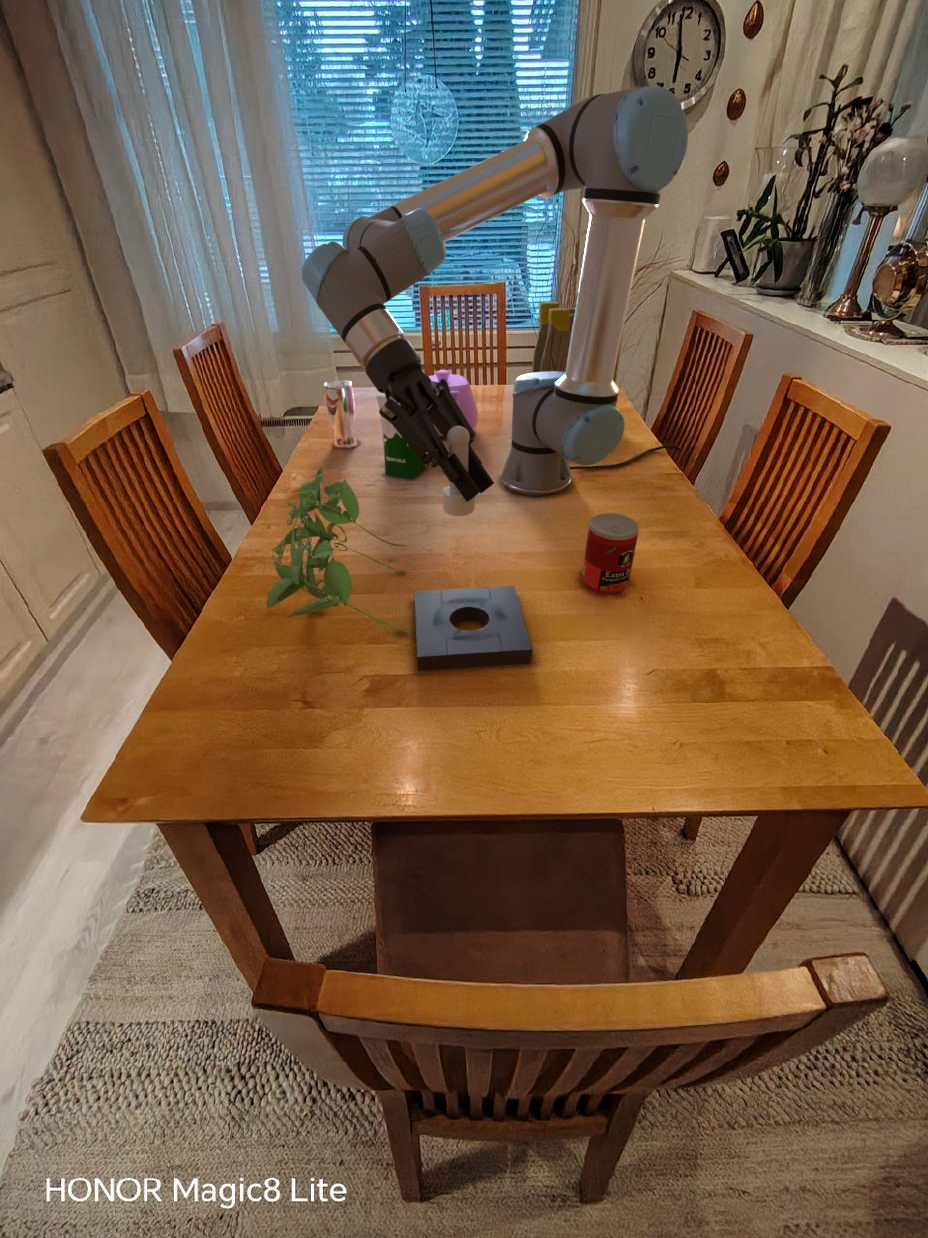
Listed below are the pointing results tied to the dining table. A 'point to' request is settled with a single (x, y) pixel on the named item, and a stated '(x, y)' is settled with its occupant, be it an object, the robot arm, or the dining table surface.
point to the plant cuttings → (318, 548)
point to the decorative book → (556, 339)
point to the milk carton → (398, 450)
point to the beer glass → (341, 412)
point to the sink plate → (462, 648)
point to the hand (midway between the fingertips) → (480, 492)
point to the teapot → (459, 395)
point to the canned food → (609, 552)
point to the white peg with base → (459, 446)
